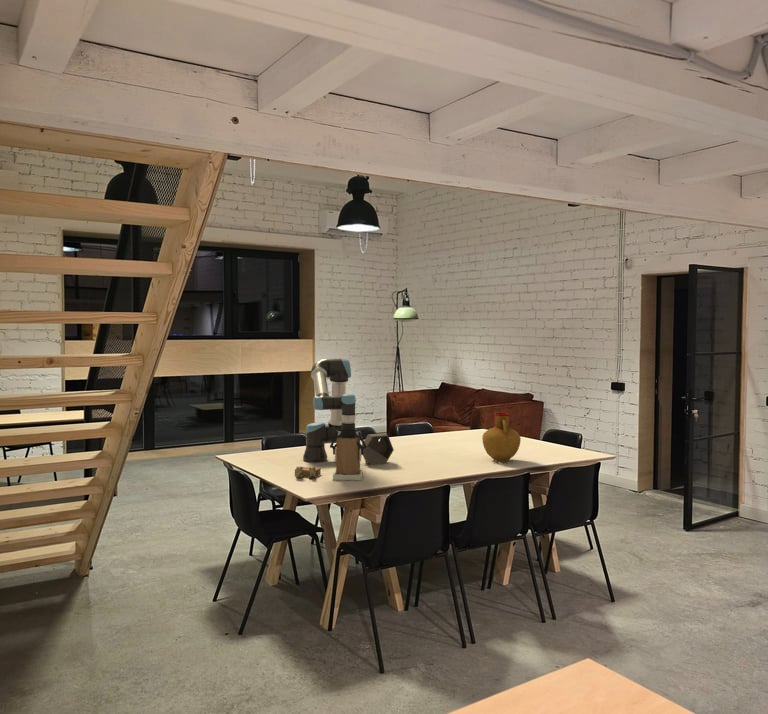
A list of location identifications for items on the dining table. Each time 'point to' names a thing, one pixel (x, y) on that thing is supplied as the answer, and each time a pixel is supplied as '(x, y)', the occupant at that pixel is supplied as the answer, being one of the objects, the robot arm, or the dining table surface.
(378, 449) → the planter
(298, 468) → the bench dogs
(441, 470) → the dining table surface
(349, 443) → the block
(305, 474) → the wooden book-shaped slab
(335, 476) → the tray
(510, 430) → the vase
